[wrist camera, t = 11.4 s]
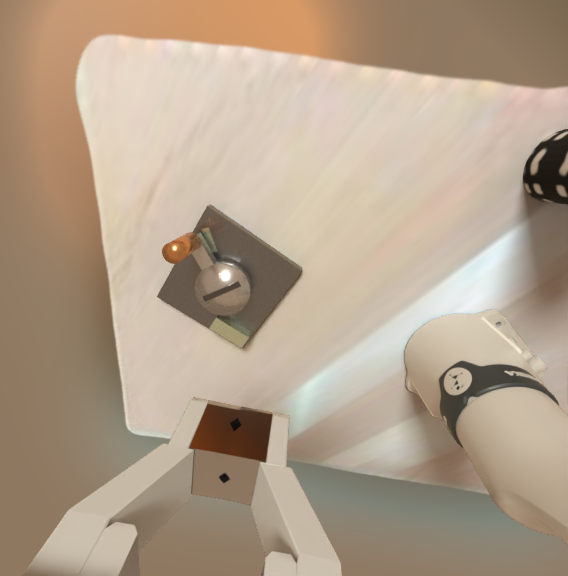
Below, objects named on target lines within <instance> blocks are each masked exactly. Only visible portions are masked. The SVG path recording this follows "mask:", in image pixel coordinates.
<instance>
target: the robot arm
mask: <svg viewBox="0 0 568 576" xmlns="http://www.w3.org/2000/svg"><path fill="white" fill-rule="evenodd" d="M497 322H498V323H497ZM496 323H497V324H496ZM404 359H405V365H406V368H407V377H406V382H405V384H406V387H407V388H408V390H409V391H410V392H413V393H415V394H418V395H420V397H421V399H422V400H423V402H424V404H425V405H426V407H427V409H428V410H429V412H430V413H431V415H432V416H433V417H435V418H439V419H440V420H443V421H444V422H445V425H446V427H447V429H448V430H449V432H450V433H451V435H452V436H453V437H454V439H455V440H456V442H457V443H458V444H459V445H460V446H461V447H463V448H464V450H465V451H466V453H467V455H468V457H469V459H470V460H471V462H472V464H473V466H474V468H475V469H476V471H477V473H478V475H479V476H480V478H481V480H482V482H483V484H484V485H485V487H486V489H487V491H488V492H489V494H490V496H491V498H492V499H493V501H494V502H495V504H496V505H497V506H498V507H499V508H500V509H501V510H502V511H503V512H504V513H505V514H506V515H508V516H509V517H510V518H512V519H513V520H515V521H517V522H519V523H520V524H522V525H524V526H526V527H528V528H530V529H532V530H535V531H537V532H540V533H544V534H548V535H553V536H558V537H560V538H561V539H562V540H563V541H564V542H565V544H566V545H567V546H568V414H567V413H566V412H565V411H564V410H563V409H562V408H561V407H560V406H559V404H558V401H557V400H556V398H555V397H554V396H553V395H552V393H551V392H550V390H549V389H548V388H547V387H546V385H545V384H544V383H543V381H542V380H541V378H542V377H543V375H544V373H545V370H547V368H548V367H547V366H546V365H545V364H544V363H543V362H542V361H541V360H540V359H539V358H538V357H536V356H535V355H533V353H532V352H531V351H530V350H529V348H528V347H527V346H526V345H525V343H524V342H523V341H522V339H521V338H520V337H519V336H518V334H517V333H516V332H515V331H514V329H513V328H512V327H511V325H510V324H509V323H508V322H507V320H506V319H505V318H504V316H503V315H502V314H501V313H500V312H499V311H497V310H488V311H484V312H480V313H477V314H450V315H445V316H441V317H438V318H436V319H433V320H431V321H429V322H428V323H426V324H425V325H423V326H422V327H420V328H419V329H418V330H417V331H416V332H415V333H414V334H413V336H412V337H411V338H410V340H409V342H408V344H407V346H406V349H405V355H404ZM289 419H290V418H289V415H285V414H279V413H274V412H273V413H272V412H269V411H263V410H258V409H252V408H246V407H239V406H234V405H229V404H225V403H220V402H215V401H211V400H210V401H209V400H205V399H200V398H195V397H193V398H192V400H191V401H190V402H189V404H188V406H187V408H186V410H185V412H184V414H183V416H182V418H181V420H180V422H179V424H178V426H177V428H176V430H175V432H174V434H173V436H172V438H171V440H170V442H169V444H162V445H161V446H159V447H158V448H156V449H155V450H153V451H152V452H150V453H149V454H148V455H146V456H145V457H144V458H142V459H141V460H139V461H138V462H136V463H135V464H133V465H132V466H131V467H129V468H128V469H127V470H125V471H123V472H122V473H121V474H119V475H118V476H117V477H115V478H114V479H112V480H111V481H109V482H108V483H106V484H105V485H104V486H102V487H101V488H99V489H98V490H96V491H95V492H94V493H92V494H91V495H89V496H88V497H87V498H85V499H84V500H82V501H81V502H80V503H78V504H77V505H75V506H74V507H72V508H71V509H69V510H68V512H67V513H66V515H65V516H64V517H63V519H62V520H61V522H60V523H59V524H58V526H57V527H56V529H55V530H54V532H53V533H52V535H51V536H50V537H49V539H48V540H47V542H46V543H45V544H44V546H43V547H42V549H41V550H40V551H39V553H38V554H37V556H36V557H35V558H34V560H33V561H32V563H31V564H30V566H29V567H28V568H27V570H26V571H25V573H24V574H23V575H22V576H140V566H139V551H140V550H141V549H142V548H143V547H144V546H145V545H146V544H147V542H149V541H150V540H151V538H152V537H153V536H154V535H155V534H156V533H157V532H158V531H159V530H160V529H161V528H162V527H163V526H164V525H165V524H166V522H168V520H169V519H170V518H171V517H172V516H173V515H174V514H175V513H176V512H177V511H178V510H179V509H180V507H182V505H183V504H184V503H185V502H186V501H187V500H188V499H189V498H190V497H191V494H193V495H199V496H206V497H213V498H219V499H224V500H228V501H233V502H238V503H242V504H246V505H251V509H252V513H253V516H254V519H255V523H256V526H257V530H258V533H259V536H260V539H261V543H262V547H263V550H264V553H265V557H266V559H265V562H264V566H263V570H262V573H261V576H342V574H341V564H340V560H339V559H338V557H337V555H336V553H335V551H334V549H333V547H332V545H331V543H330V542H329V539H328V538H327V536H326V534H325V532H324V530H323V528H322V526H321V524H320V522H319V520H318V518H317V516H316V514H315V512H314V510H313V508H312V506H311V505H310V503H309V501H308V499H307V497H306V495H305V493H304V491H303V489H302V487H301V485H300V483H299V481H298V479H297V477H296V476H295V474H294V472H293V470H292V468H289V467H286V465H287V450H288V434H289Z"/></svg>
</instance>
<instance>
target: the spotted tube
mask: <svg viewBox="0 0 568 576" xmlns="http://www.w3.org/2000/svg"><path fill="white" fill-rule="evenodd" d="M523 178H524V185H525V188H526V190H527V191H528V193H529V194H530V195H531V196H532V197H534V198H536V199H538V200H541V201H546V202H553V203H560V204H568V129H565V130H562V131H559V132H556V133H554V134H553V135H551V136H549V137H547V138H546V139H545V140H544V141H542V142H541V143H540V144H539V145H538V146H537V147H536V148H535V149H534V151H533V152H532V154H531V155H530V157H529V159H528V161H527V163H526V166H525V169H524V175H523Z"/></svg>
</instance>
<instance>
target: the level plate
mask: <svg viewBox="0 0 568 576" xmlns="http://www.w3.org/2000/svg"><path fill="white" fill-rule="evenodd" d="M200 232H201V234H202V236H203V237H204V239H205V241H206V243H207V244H208V246H209V248H210V249H211V251H212V253H213V255H214V256H215V258H216V260H222V259H224V260H231V261H234V262H236V263H238V264H240V265H241V266H243V267H244V268H245V269H246V271H247V272H248V273H249V275H250V277H251V280H252V293H251V295H250V298H249V300H248V302H247V304H246V306H245V307H244V308H243V309H242V310H241V311H240V312H238V313H236V314H234V315H230V316H221V315H216V314H213V313H211V312H209V311H208V310H206V309H205V308H204V307H203V306H202V305H201V304H200V302H199V301H198V299H197V297H196V294H195V289H194V285H195V281H196V278H197V276H198V275H199V273H200V272H201V271H202V269H201V268H200V266H199V265H198V263H197V261H196V260H195V258H194V256H193V255H192V253H191V254H190V255H188V256H187V257H186V258H184V259H183V260H182V261H180V262H179V263H176V264H175V265H174V267H173V269H172V270H171V272H170V274H169V276H168V278H167V279H166V281H165V283H164V285H163V287H162V288H161V290H160V292H159V294H158V296H157V297H158V298H160V299H161V300H163V301H165V302H166V303H168V304H170V305H171V306H173V307H175V308H176V309H178V310H180V311H181V312H183V313H184V314H186V315H188V316H189V317H191V318H193V319H194V320H196V321H198V322H199V323H201V324H203V325H204V326H206V327H208V328H209V329H211V330H212V331H214V332H216V333H217V334H219V335H221V336H222V337H224V338H225V339H227V340H229V341H230V342H232V343H234V344H235V345H237V346H239V347H240V348H243V347H244V346H245V344H246V343H247V342H248V340H249V339H250V338H251V337H252V335H253V334H254V333H255V331H256V330H257V329H258V327H259V326H260V325H261V324H262V322H263V321H264V320H265V318H266V317H267V316H268V315H269V313H270V312H271V311H272V309H273V308H274V307H275V306H276V304H277V303H278V302H279V300H280V299H281V298H282V296H283V295H284V294H285V293H286V291H287V290H288V289H289V287H290V286H291V285H292V284H293V282H294V281H295V280H296V278H297V277H298V276H299V274H300V273H301V272H302V267H300V266H299V265H297V264H296V263H294V262H293V261H291V260H290V259H289V258H287V257H286V256H284V255H283V254H281V253H280V252H278V251H277V250H276V249H274V248H273V247H271V246H270V245H268V244H267V243H265V242H264V241H263V240H261V239H260V238H258V237H257V236H255V235H254V234H252V233H251V232H250V231H248V230H247V229H245V228H244V227H242V226H241V225H239V224H238V223H236V222H235V221H234V220H232V219H231V218H229V217H228V216H226V215H225V214H223V213H222V212H221V211H219V210H218V209H216V208H215V207H213V206H212V205H208V206H207V207H206V209H205V211H204V213H203V215H202V216H201V218H200V220H199V222H198V224H197V225H196V227H195V229H194V231H193V233H195V234H198V233H200Z"/></svg>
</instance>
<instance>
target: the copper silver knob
mask: <svg viewBox="0 0 568 576" xmlns="http://www.w3.org/2000/svg"><path fill="white" fill-rule="evenodd" d="M191 253H192V255H193V256H194V258H195V260H196V261H197V263H198V265H199V266H200V268H201V269H202V271H201V272H200V273H199V275H198V276H197V278H196V281H195V285H194V289H195V294H196V297H197V299H198V301H199V302H200V304H201V305H202V306H203V307H204V308H205V309H206V310H208V311H209V312H211V313H213V314H216V315H221V316H230V315H234V314H236V313H238V312H240V311H241V310H242V309H243V308H244V307H245V306H246V304H247V302H248V300H249V298H250V295H251V293H252V280H251V277H250V275H249V273H248V272H247V271H246V269H245V268H244V267H243V266H241V265H240V264H238V263H236V262H234V261H231V260H224V259H222V260H216V258H215V256H214V255H213V253H212V251H211V249H210V248H209V246H208V244H207V243H206V241H205V239H204V237H203V236H202V234H201V232H200V233H198V234H195V233H191V232H190V233H187V234H185V235H183V236H181V237H179V238H177V239H176V240H174V241H172V242H170V243H168V244H166V245H165V246H164V247H163V249H162V254H163V257H164V258H165V260H166V261H168V262H169V263H173V264H176V263H179V262H180V261H182V260H183V259H184V258H186V257H187V256H188V255H190V254H191Z"/></svg>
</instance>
